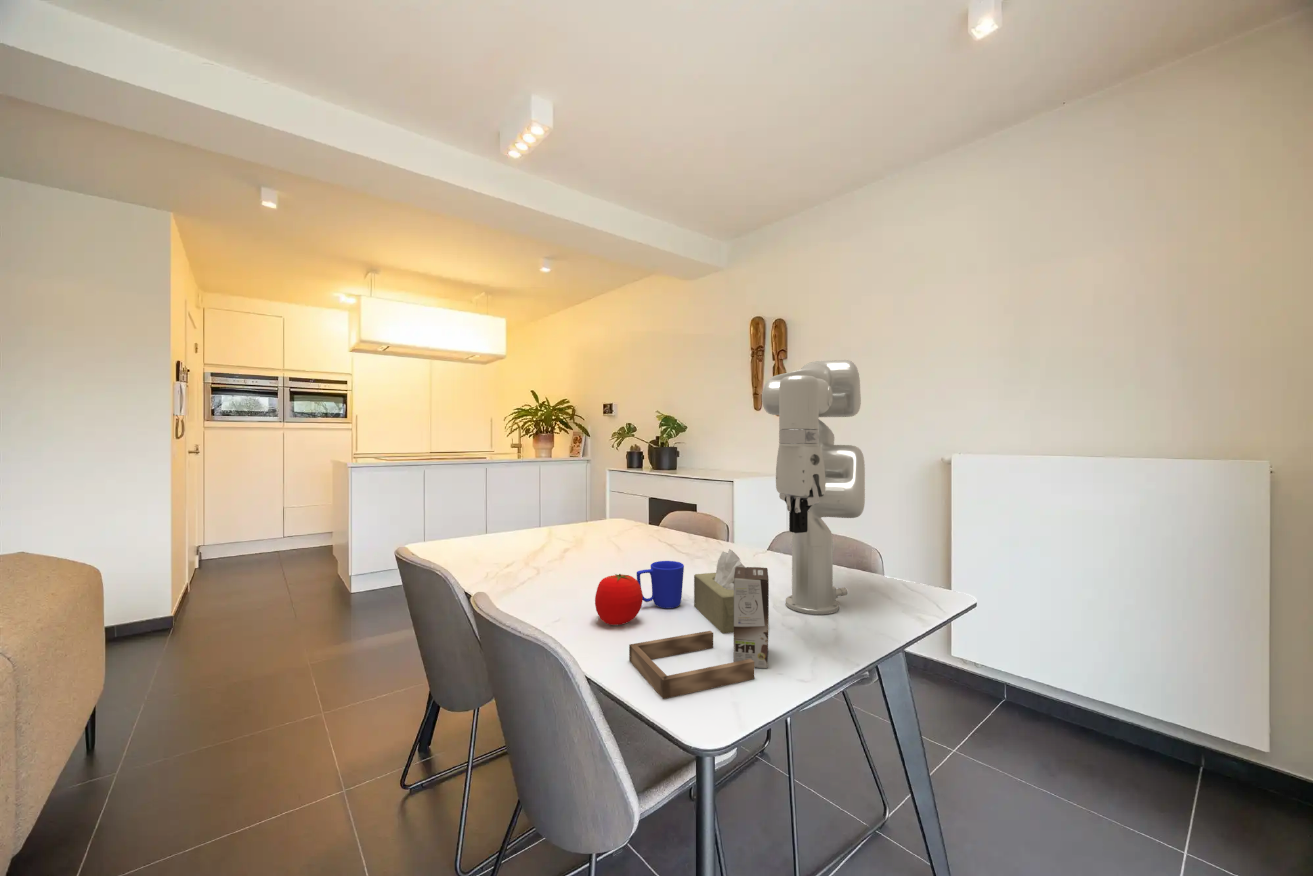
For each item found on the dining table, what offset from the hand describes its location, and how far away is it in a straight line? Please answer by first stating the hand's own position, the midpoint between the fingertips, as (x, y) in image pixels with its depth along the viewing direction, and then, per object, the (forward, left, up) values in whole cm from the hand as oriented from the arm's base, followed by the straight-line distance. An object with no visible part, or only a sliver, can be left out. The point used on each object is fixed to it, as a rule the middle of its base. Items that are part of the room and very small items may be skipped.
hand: (798, 531), depth 103 cm
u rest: (+24, 0, -23) cm, 33 cm away
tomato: (+28, -28, -23) cm, 46 cm away
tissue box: (+4, -21, -23) cm, 31 cm away
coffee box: (+11, 0, -23) cm, 26 cm away
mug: (+15, -34, -23) cm, 43 cm away
